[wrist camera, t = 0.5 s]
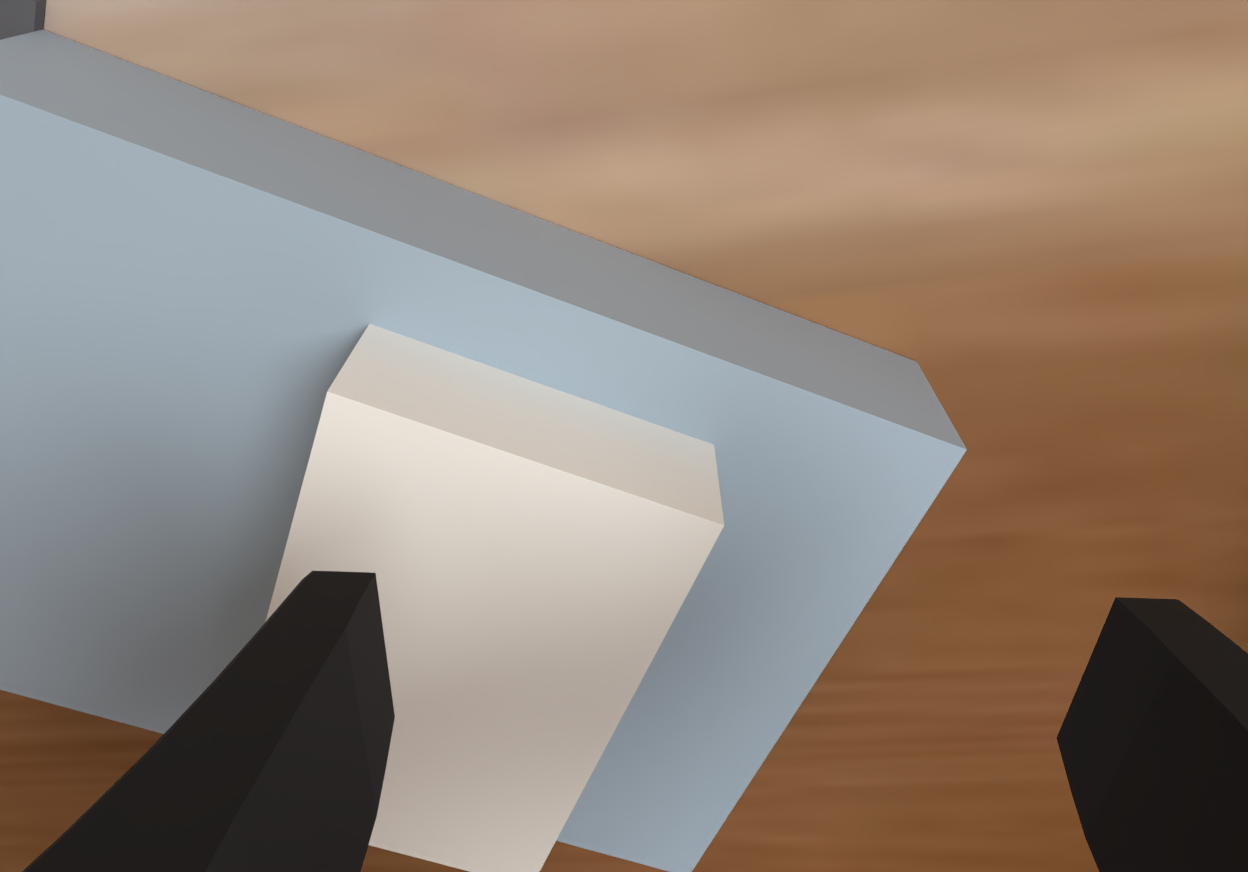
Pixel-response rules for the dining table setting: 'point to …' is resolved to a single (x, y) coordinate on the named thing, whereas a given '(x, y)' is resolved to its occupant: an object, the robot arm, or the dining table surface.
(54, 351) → the deck
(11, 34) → the mat
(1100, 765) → the robot arm
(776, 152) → the dining table surface
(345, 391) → the cream tapered slab
